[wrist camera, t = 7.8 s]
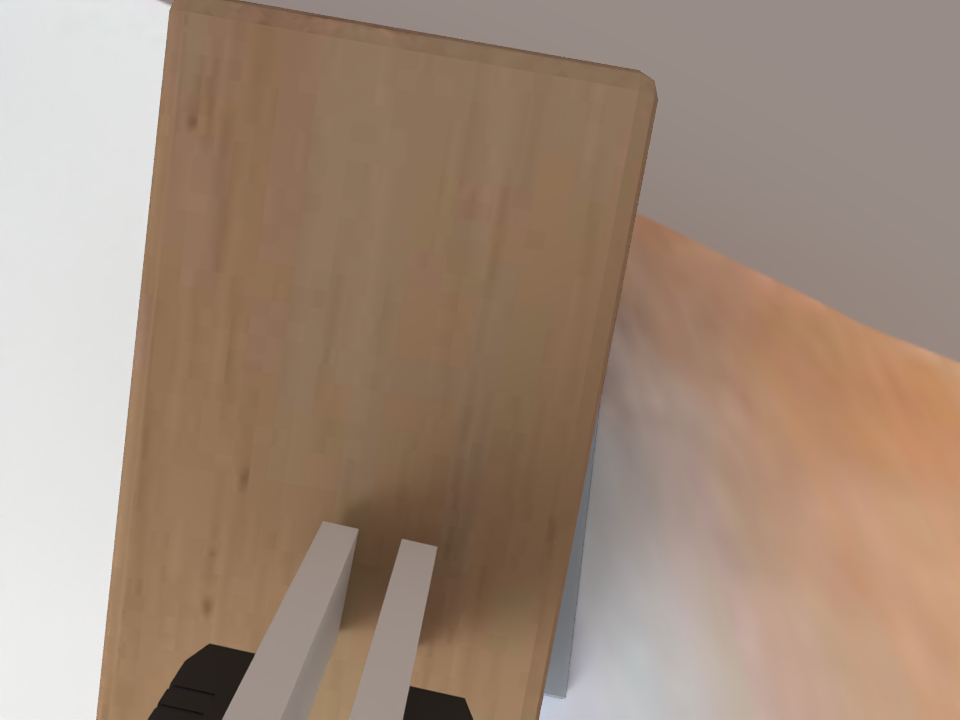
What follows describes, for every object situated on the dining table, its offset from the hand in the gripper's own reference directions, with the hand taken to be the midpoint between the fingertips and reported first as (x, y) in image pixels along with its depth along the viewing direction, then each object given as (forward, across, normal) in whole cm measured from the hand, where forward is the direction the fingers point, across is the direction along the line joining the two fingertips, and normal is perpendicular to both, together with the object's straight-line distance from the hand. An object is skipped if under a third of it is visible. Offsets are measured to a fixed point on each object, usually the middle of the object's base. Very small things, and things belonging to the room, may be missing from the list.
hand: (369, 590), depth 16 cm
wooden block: (+4, 0, -10) cm, 10 cm away
